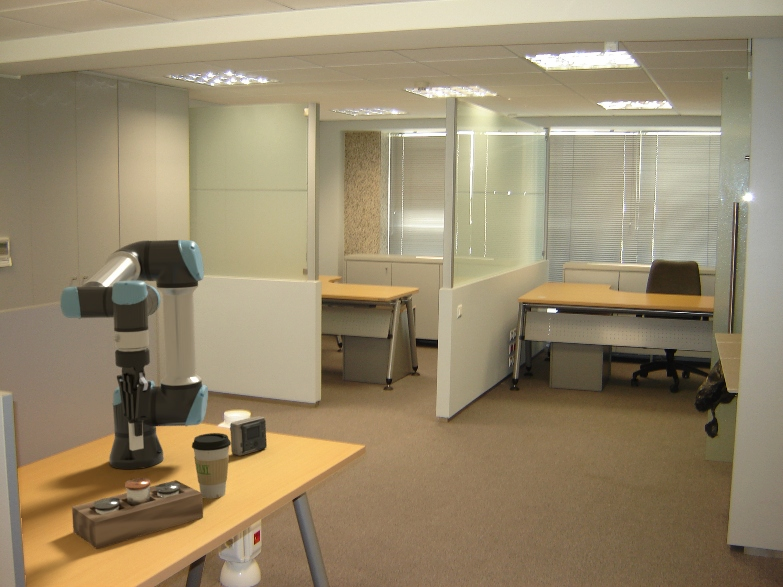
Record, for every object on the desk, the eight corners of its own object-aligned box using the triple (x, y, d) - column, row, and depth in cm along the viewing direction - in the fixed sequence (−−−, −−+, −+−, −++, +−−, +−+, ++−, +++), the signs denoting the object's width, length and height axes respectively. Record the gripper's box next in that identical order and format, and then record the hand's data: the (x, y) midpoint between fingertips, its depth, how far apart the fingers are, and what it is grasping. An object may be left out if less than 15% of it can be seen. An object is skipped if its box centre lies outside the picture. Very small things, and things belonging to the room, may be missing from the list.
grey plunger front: (91, 530, 185) (89, 501, 184) (115, 524, 188) (113, 495, 188) (101, 537, 180) (100, 508, 180) (125, 530, 184) (124, 502, 184)
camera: (258, 445, 252) (257, 414, 251) (270, 449, 248) (269, 417, 247) (227, 454, 244) (226, 421, 243) (239, 458, 240) (238, 425, 239)
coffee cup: (196, 488, 214) (194, 433, 212) (234, 486, 215) (232, 431, 213) (190, 501, 204) (188, 443, 203) (230, 500, 205) (228, 442, 203)
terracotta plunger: (122, 510, 189) (120, 481, 189) (144, 504, 193) (143, 476, 192) (132, 516, 185) (131, 487, 184) (155, 510, 189) (154, 482, 188)
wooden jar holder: (73, 532, 186) (72, 506, 185) (176, 503, 203) (175, 480, 202) (96, 549, 176) (95, 522, 175) (203, 517, 193) (202, 493, 193)
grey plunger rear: (152, 513, 195) (151, 486, 194) (174, 507, 198) (172, 480, 198) (163, 519, 191) (162, 492, 190) (185, 513, 194) (184, 486, 194)
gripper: (104, 347, 187) (109, 446, 190) (129, 353, 178) (133, 458, 180) (135, 343, 192) (139, 439, 195) (160, 349, 183) (164, 451, 185)
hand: (136, 448), depth 188 cm, fingers closed
